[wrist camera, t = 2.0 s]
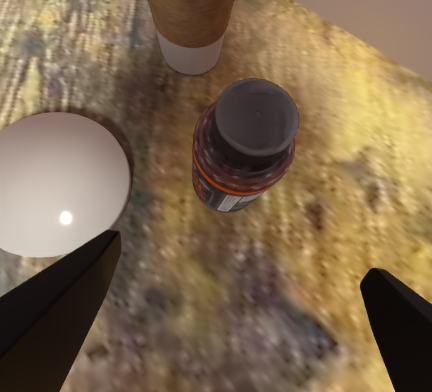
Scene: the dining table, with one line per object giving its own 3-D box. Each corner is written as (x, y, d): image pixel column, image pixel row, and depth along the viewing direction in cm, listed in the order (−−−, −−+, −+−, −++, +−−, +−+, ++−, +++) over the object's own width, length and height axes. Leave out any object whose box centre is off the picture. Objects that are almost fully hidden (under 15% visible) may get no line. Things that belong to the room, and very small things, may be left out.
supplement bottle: (183, 160, 22) (175, 70, 11) (244, 143, 23) (292, 45, 12) (204, 223, 21) (217, 191, 10) (266, 202, 22) (341, 153, 11)
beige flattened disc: (59, 289, 19) (50, 291, 18) (-55, 195, 20) (-70, 192, 18) (160, 173, 22) (158, 168, 20) (57, 95, 22) (50, 86, 21)
